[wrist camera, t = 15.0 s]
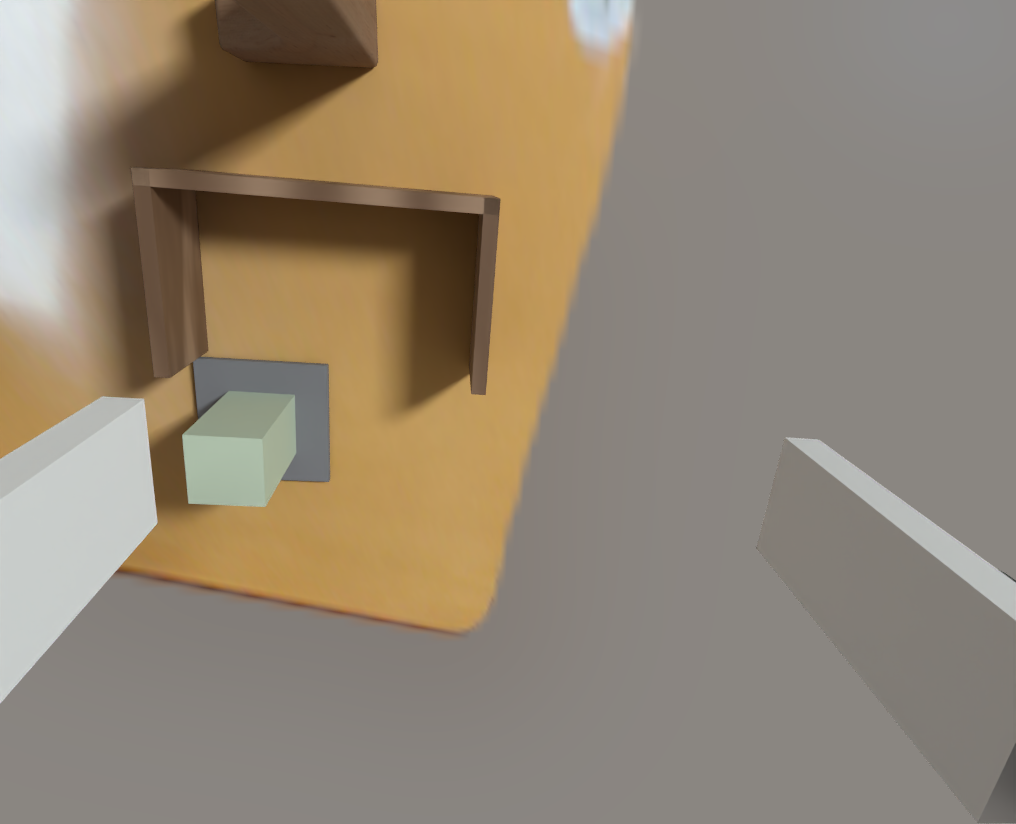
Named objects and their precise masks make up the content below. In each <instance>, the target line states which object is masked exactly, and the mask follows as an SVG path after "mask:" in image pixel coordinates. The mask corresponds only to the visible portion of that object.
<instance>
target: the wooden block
mask: <svg viewBox="0 0 1016 824" xmlns="http://www.w3.org/2000/svg"><path fill="white" fill-rule="evenodd" d="M215 5H216V15H217V24H218V33H219V43H220V45H221V47H222V49H223V50H225V51H227V52H229V53H231V54H233V55H234V56H236V57H238V58H240V59H242V60H244V61H246V62H264V63H285V64H305V65H326V66H347V67H368V68H373V67H375V66H377V63H378V45H377V16H376V0H215Z"/></svg>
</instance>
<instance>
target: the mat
mask: <svg viewBox="0 0 1016 824" xmlns="http://www.w3.org/2000/svg"><path fill="white" fill-rule="evenodd" d="M193 367H194V378H195V390H196V401H197V412H198V419H199V418H201V417H202V416H203V415H204V414H205V413H206V412H207V411H208V410H209V409H210V408H211V407H212V406H213V405H214V404H215V403H216V402H217V401H219V400H220V399H221V398H222V397H223V396H224V395H225V394H226V393H227V392H228V391H239V392H256V393H273V394H290V395H295V421H296V454H295V456H294V458H293V460H292V461H291V463H290V465H289V467H288V468H287V470H286V472H285V474H284V475H283V477H282V479H281V480H297V481H323V482H329V480H330V441H329V369H328V364H318V363H300V362H283V361H266V360H248V359H231V358H213V357H199V358H198V359H196V360H195V361H193Z"/></svg>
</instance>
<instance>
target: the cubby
mask: <svg viewBox="0 0 1016 824" xmlns="http://www.w3.org/2000/svg"><path fill="white" fill-rule="evenodd" d="M131 175H132V184H133V193H134V202H135V211H136V220H137V229H138V238H139V246H140V255H141V264H142V273H143V282H144V291H145V300H146V309H147V318H148V327H149V336H150V345H151V354H152V363H153V372H154V377H162V378H171V377H172V376H173V375H175V374H176V373H178V372H179V371H180V370H182V369H183V368H185V367H186V366H188V365H189V364H190V363H192V362H193V361H195V360H196V359H198V358H199V357H200V356H202V355H203V354H205V353H206V352H207V351H208V341H207V329H206V316H205V304H204V291H203V279H202V266H201V254H200V241H199V229H198V216H197V204H196V191H195V190H198V191H210V192H222V193H234V194H246V195H258V196H270V197H282V198H294V199H306V200H318V201H330V202H342V203H354V204H366V205H378V206H390V207H402V208H414V209H427V210H439V211H451V212H463V213H475V214H479V222H478V237H477V253H476V268H475V284H474V299H473V314H472V330H471V345H470V361H469V371H470V384H471V394H478V395H486V384H487V370H488V357H489V344H490V330H491V317H492V304H493V290H494V277H495V264H496V250H497V237H498V224H499V210H500V199H499V198H497V197H495V196H489V195H478V194H466V193H454V192H443V191H431V190H420V189H408V188H396V187H385V186H373V185H362V184H350V183H338V182H327V181H315V180H304V179H292V178H280V177H269V176H257V175H246V174H234V173H222V172H211V171H199V170H188V169H171V168H140V167H131Z"/></svg>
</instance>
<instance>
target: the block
mask: <svg viewBox="0 0 1016 824" xmlns="http://www.w3.org/2000/svg"><path fill="white" fill-rule="evenodd" d="M182 439H183V450H184V460H185V471H186V482H187V493H188V504H209V505H234V506H258V507H266V505H267V503H268V501H269V500H270V498H271V496H272V494H273V493H274V491H275V489H276V487H277V486H278V484H279V482H280V480H281V479H282V477H283V475H284V474H285V472H286V470H287V468H288V467H289V465H290V463H291V461H292V460H293V458H294V456H295V454H296V421H295V395H290V394H273V393H256V392H239V391H228V392H227V393H226V394H225V395H224V396H223V397H222V398H221V399H220V400H219V401H217V402H216V403H215V404H214V405H213V406H212V407H211V408H210V409H209V410H208V411H207V412H206V413H205V414H204V415H203V416H202V417H201V418H199V419H198V420H197V421H196V422H195V423H194V424H193V425H192V426H191V427H190V428H189V429H188V430H187V431H186V432H185V433H184V434H183V435H182Z"/></svg>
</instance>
